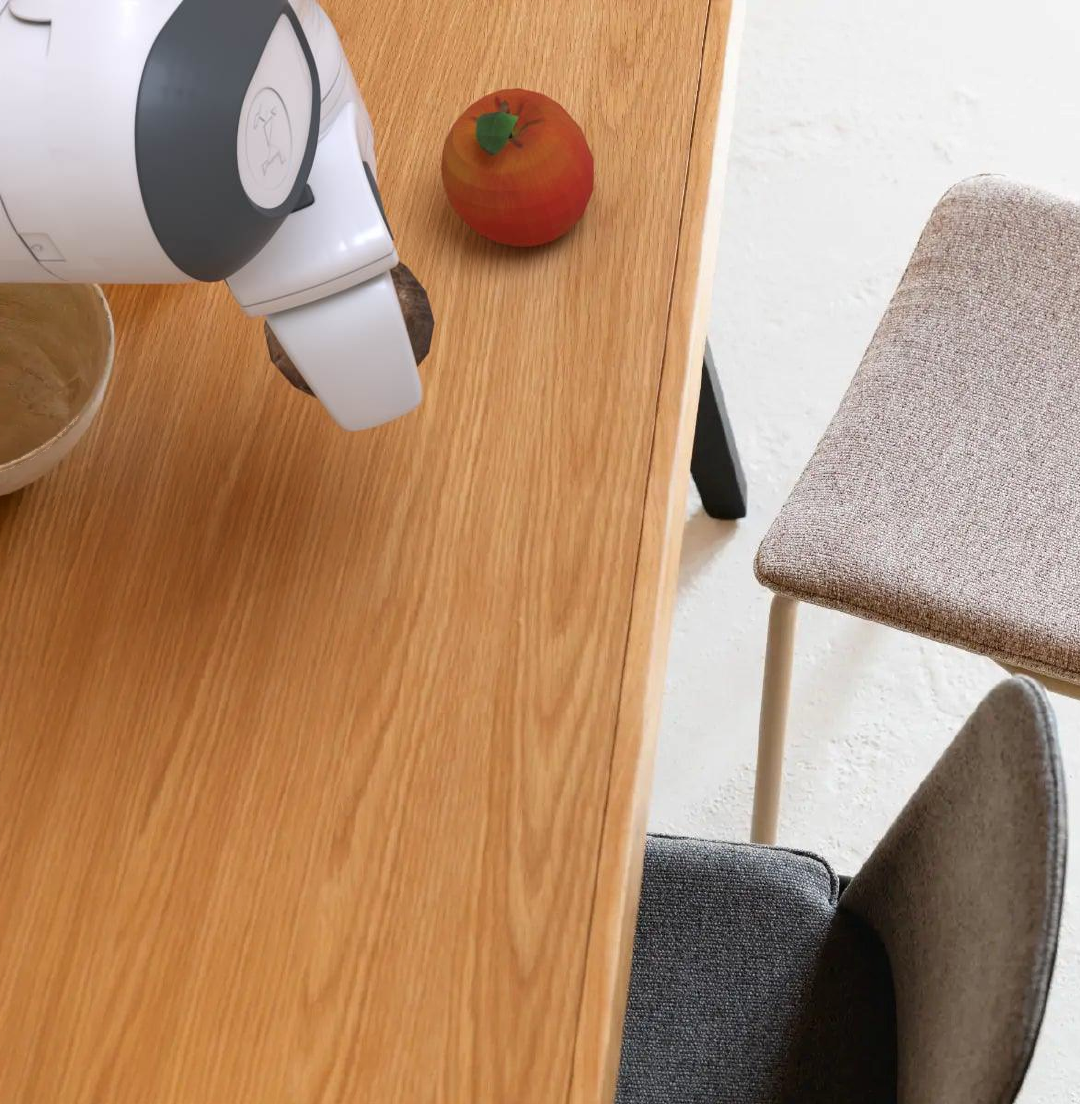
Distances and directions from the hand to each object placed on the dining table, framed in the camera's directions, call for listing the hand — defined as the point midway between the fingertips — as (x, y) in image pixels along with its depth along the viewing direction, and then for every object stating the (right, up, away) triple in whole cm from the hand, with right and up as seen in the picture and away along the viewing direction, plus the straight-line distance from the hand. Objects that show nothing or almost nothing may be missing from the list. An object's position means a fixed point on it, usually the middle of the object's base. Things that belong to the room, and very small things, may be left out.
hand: (356, 333), depth 73 cm
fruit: (+4, +11, +25) cm, 27 cm away
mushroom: (0, -1, +2) cm, 2 cm away
